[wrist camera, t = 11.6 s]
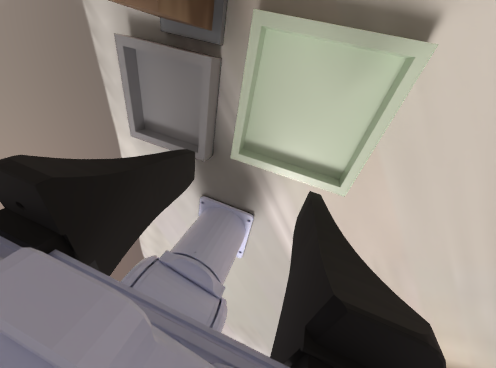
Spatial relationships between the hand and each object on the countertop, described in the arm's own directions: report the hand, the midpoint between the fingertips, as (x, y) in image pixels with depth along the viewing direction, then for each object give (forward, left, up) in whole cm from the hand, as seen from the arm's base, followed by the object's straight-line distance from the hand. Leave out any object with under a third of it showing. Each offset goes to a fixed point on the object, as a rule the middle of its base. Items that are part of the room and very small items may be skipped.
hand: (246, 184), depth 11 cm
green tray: (+3, -2, -10) cm, 11 cm away
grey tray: (+1, +12, -10) cm, 16 cm away
